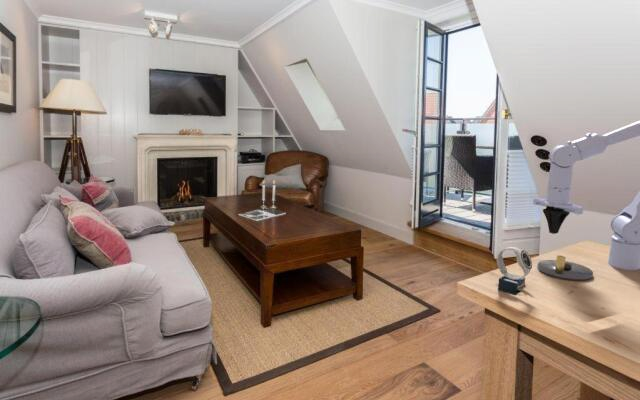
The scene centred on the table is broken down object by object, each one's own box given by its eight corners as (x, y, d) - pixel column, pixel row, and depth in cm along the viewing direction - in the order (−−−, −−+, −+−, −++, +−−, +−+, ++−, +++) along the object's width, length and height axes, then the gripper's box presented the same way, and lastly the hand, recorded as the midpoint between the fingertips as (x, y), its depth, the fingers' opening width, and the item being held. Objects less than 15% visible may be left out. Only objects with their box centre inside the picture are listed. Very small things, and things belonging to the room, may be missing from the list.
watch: (523, 297, 99) (528, 254, 97) (490, 288, 104) (494, 246, 102) (532, 291, 103) (536, 249, 100) (500, 282, 108) (503, 242, 106)
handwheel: (545, 260, 120) (547, 242, 119) (597, 271, 112) (600, 252, 110) (530, 271, 111) (532, 252, 110) (585, 285, 102) (588, 264, 101)
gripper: (527, 184, 123) (523, 228, 125) (572, 192, 110) (566, 241, 112) (544, 183, 125) (539, 225, 128) (590, 190, 112) (584, 238, 115)
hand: (553, 232), depth 120 cm, fingers closed
